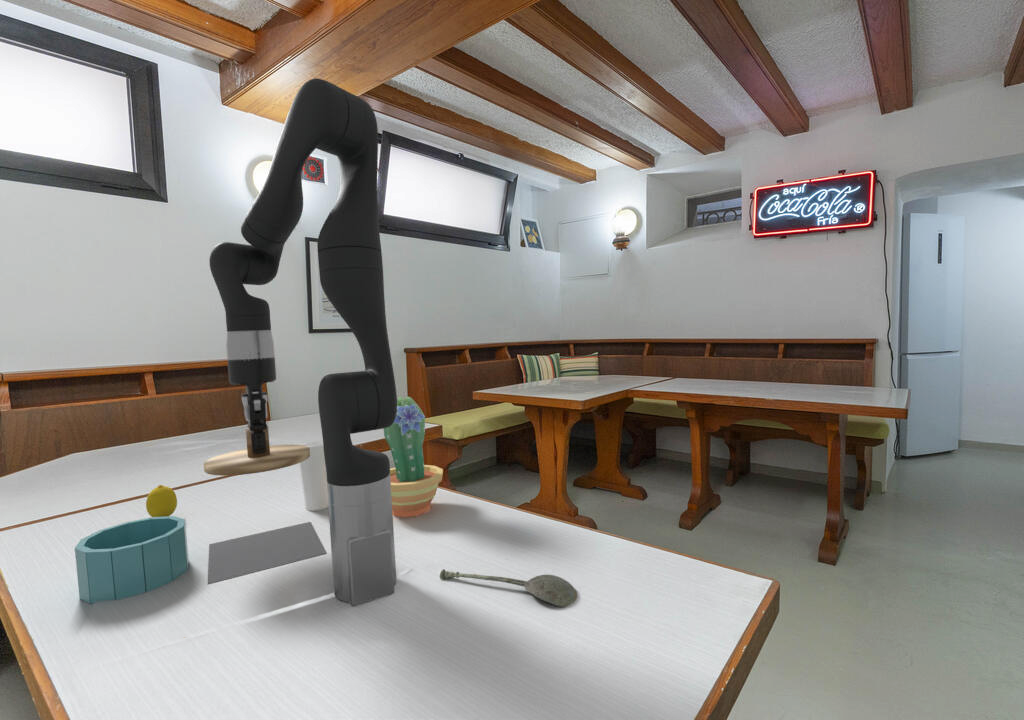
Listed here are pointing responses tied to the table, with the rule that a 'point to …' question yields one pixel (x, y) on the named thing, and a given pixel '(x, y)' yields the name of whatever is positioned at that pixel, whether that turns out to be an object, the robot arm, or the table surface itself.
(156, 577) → the bowl
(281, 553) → the mat
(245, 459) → the lid
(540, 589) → the soupspoon
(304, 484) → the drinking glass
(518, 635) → the table surface
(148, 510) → the lemon
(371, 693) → the table surface
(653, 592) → the table surface
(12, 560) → the table surface
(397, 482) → the potted cactus
